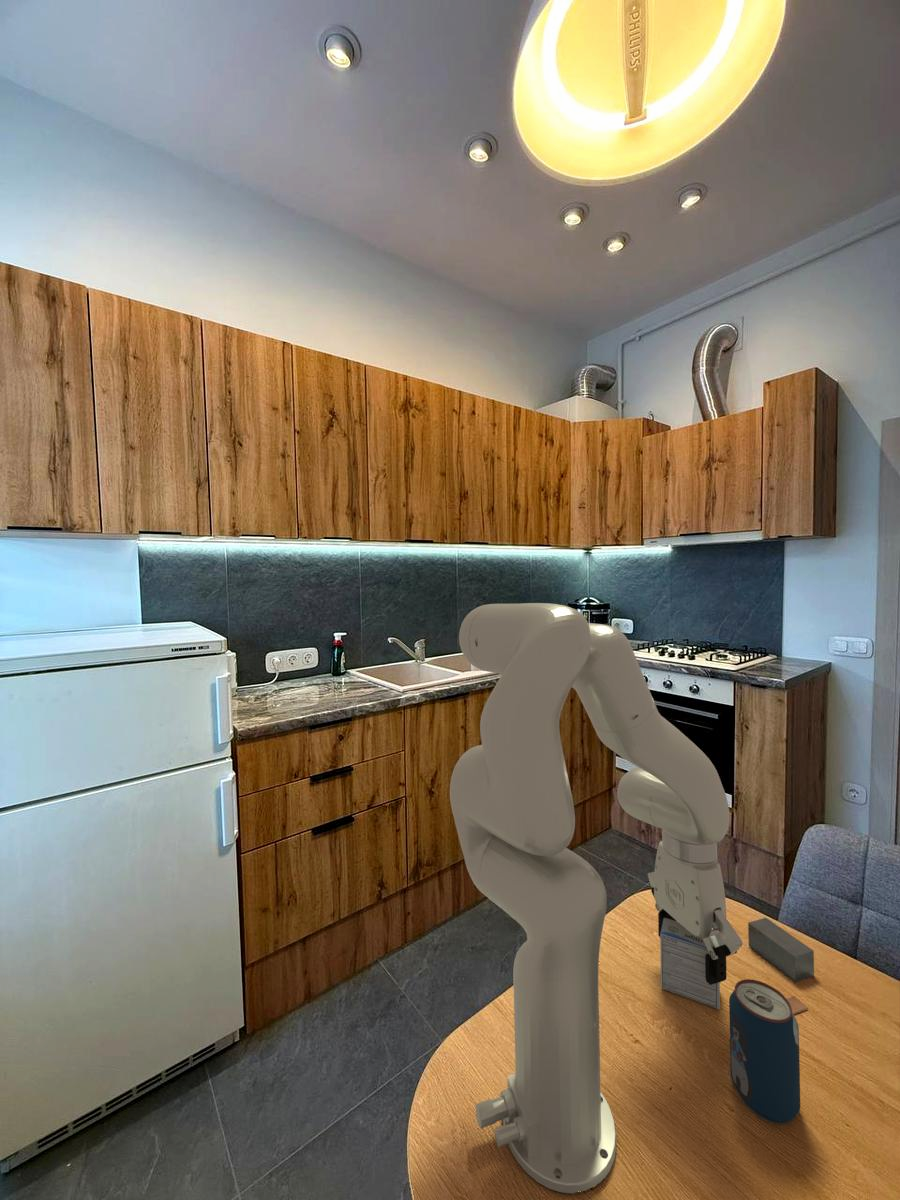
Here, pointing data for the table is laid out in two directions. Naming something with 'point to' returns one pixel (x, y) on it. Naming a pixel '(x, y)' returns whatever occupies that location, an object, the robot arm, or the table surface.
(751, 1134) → the table surface
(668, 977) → the medicine box
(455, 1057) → the table surface
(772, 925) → the connector dock
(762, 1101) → the soda can
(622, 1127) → the table surface
